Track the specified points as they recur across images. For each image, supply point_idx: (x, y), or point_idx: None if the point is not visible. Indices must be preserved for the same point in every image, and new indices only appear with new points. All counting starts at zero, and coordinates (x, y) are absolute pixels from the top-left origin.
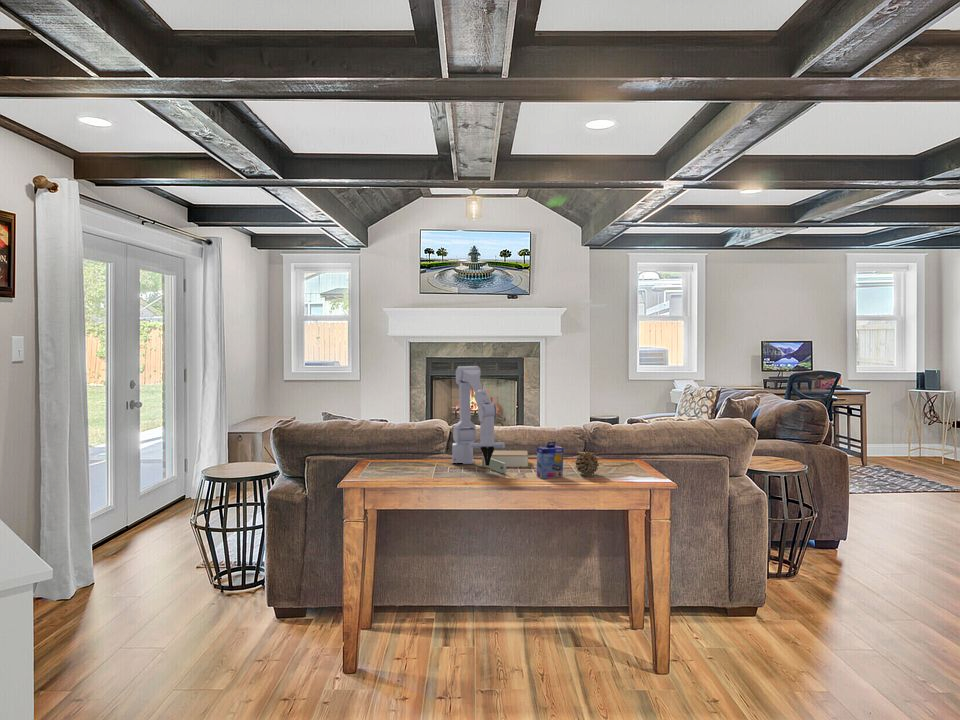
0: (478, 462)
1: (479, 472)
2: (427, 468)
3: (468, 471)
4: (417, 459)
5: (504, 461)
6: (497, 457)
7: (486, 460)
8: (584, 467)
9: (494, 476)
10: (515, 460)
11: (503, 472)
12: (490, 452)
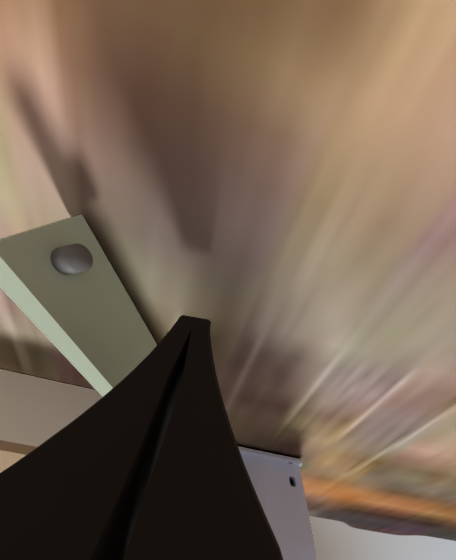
0: None
1: (250, 319)
2: (442, 439)
3: (301, 355)
4: (368, 506)
5: (78, 416)
6: None
7: (198, 352)
8: None
9: (173, 149)
10: (11, 409)
11: (82, 226)
12: (71, 473)
